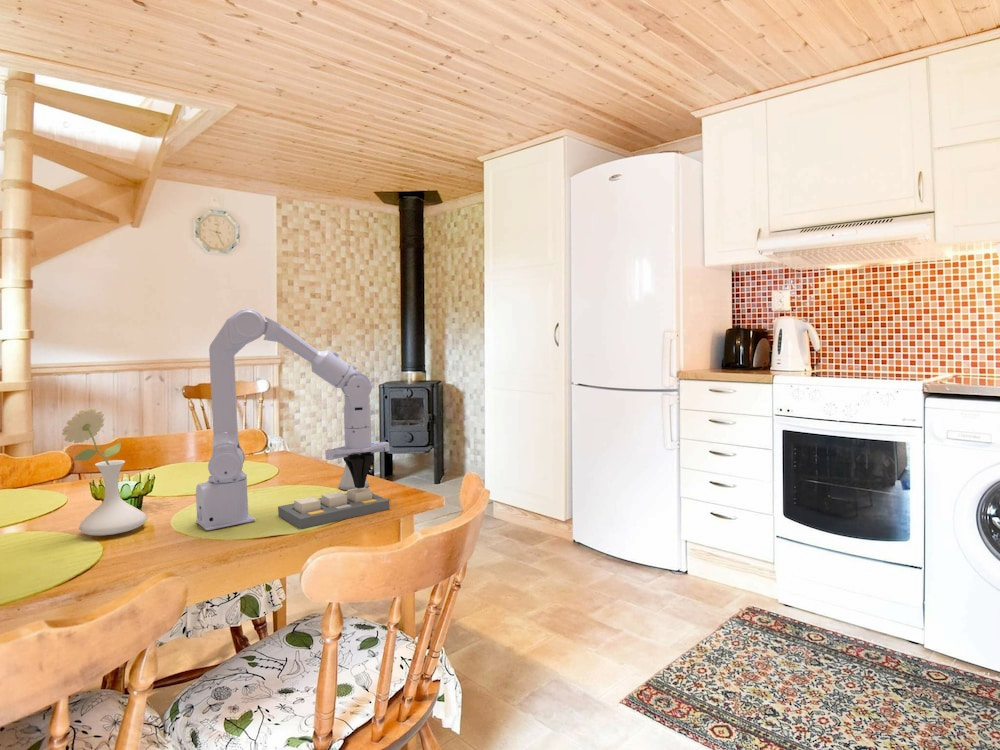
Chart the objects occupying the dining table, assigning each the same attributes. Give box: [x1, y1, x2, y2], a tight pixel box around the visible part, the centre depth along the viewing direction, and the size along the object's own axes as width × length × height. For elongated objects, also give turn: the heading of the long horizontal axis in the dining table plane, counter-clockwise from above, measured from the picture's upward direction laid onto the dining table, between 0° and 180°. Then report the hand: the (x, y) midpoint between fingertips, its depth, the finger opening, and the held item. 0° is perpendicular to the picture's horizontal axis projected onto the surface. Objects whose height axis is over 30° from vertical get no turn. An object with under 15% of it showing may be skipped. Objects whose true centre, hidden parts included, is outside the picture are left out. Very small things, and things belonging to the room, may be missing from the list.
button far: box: [346, 487, 373, 502], centre depth 135 cm, size 4×4×2 cm
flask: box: [338, 463, 370, 491], centre depth 152 cm, size 7×7×10 cm
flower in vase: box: [62, 407, 148, 537], centre depth 119 cm, size 13×11×25 cm
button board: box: [277, 492, 391, 530], centre depth 131 cm, size 20×12×2 cm, turn 130°
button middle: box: [321, 491, 347, 508], centre depth 131 cm, size 4×4×2 cm
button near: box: [293, 496, 321, 513], centre depth 127 cm, size 4×4×2 cm
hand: (359, 487), depth 135 cm, fingers closed
